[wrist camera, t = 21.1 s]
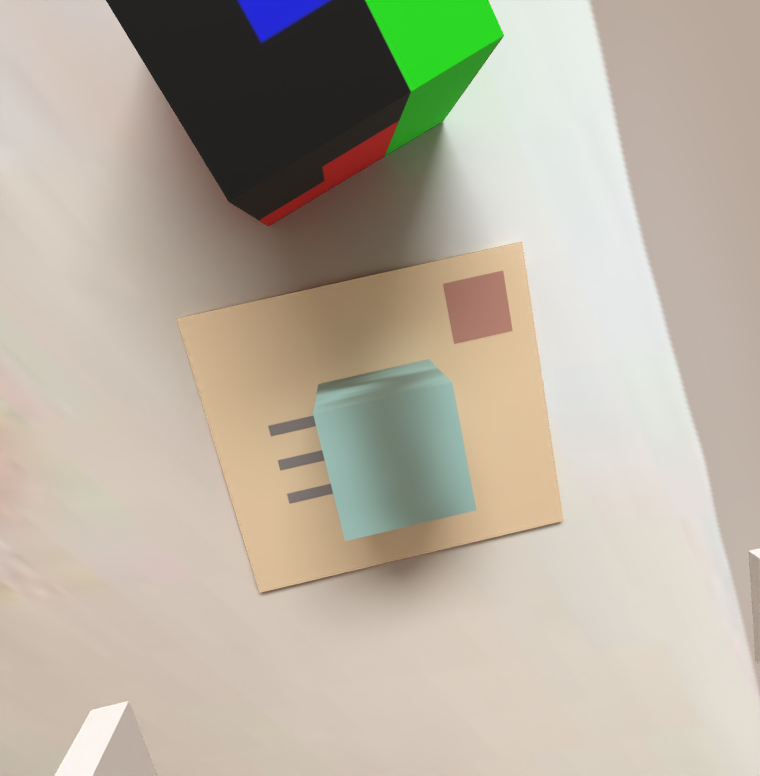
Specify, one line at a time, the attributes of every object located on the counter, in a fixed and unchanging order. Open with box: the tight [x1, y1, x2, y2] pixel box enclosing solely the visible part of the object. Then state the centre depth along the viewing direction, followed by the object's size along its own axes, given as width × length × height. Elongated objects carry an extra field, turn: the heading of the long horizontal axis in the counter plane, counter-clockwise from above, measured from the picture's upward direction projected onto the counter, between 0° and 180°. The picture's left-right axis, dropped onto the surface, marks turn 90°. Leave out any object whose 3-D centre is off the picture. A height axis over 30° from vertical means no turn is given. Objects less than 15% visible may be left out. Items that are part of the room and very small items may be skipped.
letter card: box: [177, 242, 563, 593], centre depth 29 cm, size 18×16×1 cm
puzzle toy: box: [106, 0, 504, 226], centre depth 21 cm, size 10×10×10 cm
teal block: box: [313, 359, 476, 541], centre depth 26 cm, size 6×6×6 cm
